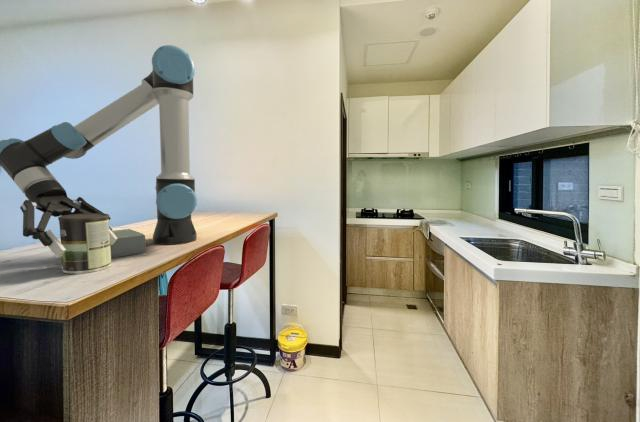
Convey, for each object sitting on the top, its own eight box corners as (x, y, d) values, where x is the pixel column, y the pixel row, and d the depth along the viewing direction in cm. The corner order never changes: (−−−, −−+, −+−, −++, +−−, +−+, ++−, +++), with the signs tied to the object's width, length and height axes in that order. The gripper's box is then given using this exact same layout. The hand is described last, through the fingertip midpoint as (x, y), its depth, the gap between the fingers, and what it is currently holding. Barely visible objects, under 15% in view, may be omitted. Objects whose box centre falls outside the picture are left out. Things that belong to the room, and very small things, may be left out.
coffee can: (61, 277, 69) (56, 219, 67) (63, 266, 77) (59, 214, 75) (114, 269, 76) (110, 216, 74) (110, 260, 84) (107, 212, 82)
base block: (130, 245, 101) (129, 228, 100) (145, 252, 93) (144, 233, 92) (83, 252, 91) (82, 233, 90) (96, 260, 83) (95, 240, 82)
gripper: (82, 195, 90) (124, 245, 88) (-30, 201, 66) (25, 270, 64) (95, 178, 88) (138, 229, 86) (-16, 178, 64) (41, 249, 62)
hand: (90, 247), depth 75 cm, fingers open, 13 cm apart
